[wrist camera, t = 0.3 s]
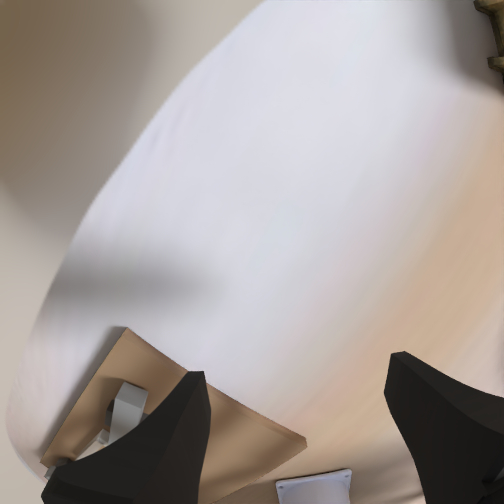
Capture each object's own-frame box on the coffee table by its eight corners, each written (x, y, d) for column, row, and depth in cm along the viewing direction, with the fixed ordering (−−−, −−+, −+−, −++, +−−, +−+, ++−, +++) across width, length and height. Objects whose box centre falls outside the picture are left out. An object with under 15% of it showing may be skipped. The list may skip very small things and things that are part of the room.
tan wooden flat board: (305, 437, 24) (311, 467, 21) (158, 520, 30) (154, 539, 27) (127, 327, 21) (108, 353, 18) (43, 456, 27) (32, 474, 24)
